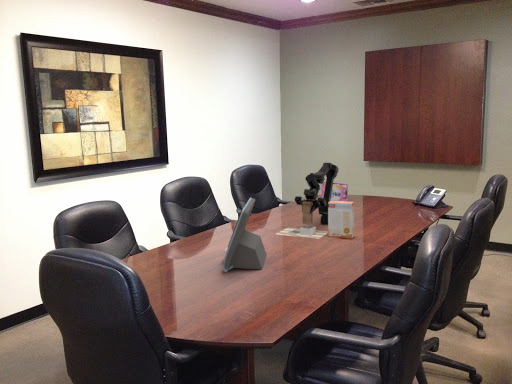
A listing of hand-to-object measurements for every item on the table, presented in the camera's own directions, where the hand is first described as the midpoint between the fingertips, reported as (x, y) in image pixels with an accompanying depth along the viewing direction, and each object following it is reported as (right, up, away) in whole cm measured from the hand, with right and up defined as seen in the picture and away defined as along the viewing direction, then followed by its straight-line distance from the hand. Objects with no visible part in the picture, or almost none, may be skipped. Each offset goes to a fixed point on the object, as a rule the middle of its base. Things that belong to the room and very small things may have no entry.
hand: (306, 213), depth 283 cm
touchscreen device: (-35, -22, -45) cm, 61 cm away
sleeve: (+1, -12, +3) cm, 13 cm away
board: (-2, -13, +6) cm, 14 cm away
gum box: (+35, +6, +113) cm, 118 cm away
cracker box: (+20, -14, -4) cm, 24 cm away
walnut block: (+1, -6, +2) cm, 7 cm away
